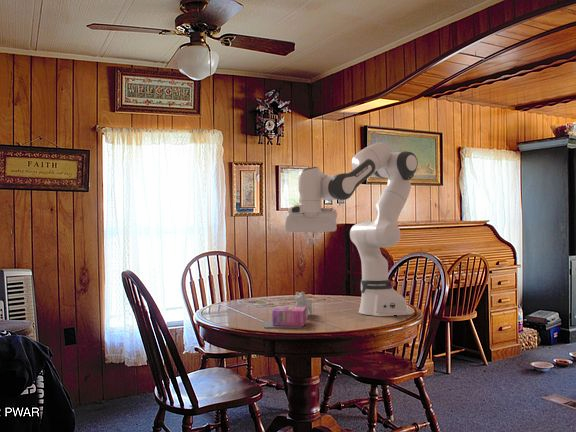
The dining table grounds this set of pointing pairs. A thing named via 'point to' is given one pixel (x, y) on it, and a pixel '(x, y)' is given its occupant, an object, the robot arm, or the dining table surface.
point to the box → (289, 316)
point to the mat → (270, 325)
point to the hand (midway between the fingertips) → (311, 243)
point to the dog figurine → (303, 302)
